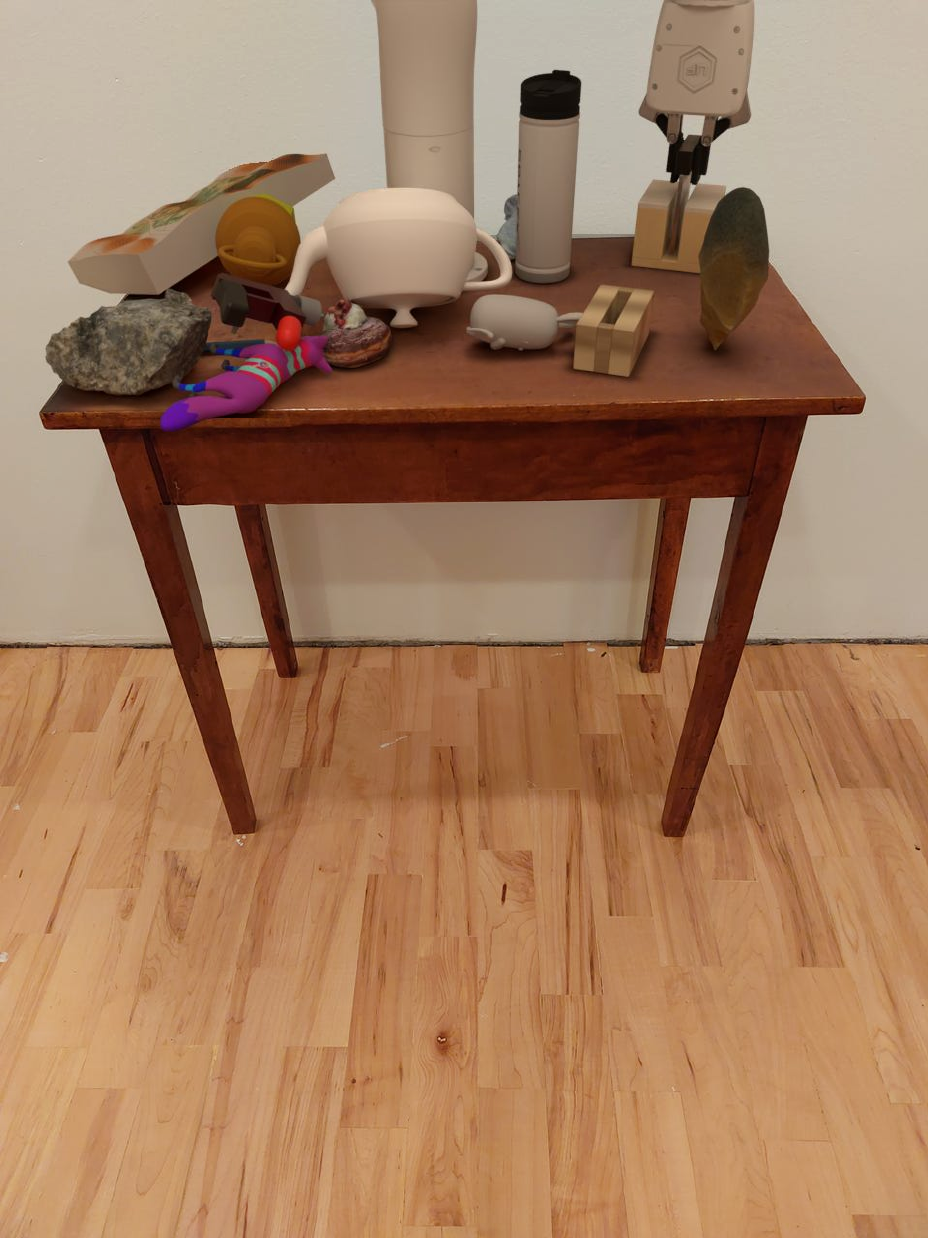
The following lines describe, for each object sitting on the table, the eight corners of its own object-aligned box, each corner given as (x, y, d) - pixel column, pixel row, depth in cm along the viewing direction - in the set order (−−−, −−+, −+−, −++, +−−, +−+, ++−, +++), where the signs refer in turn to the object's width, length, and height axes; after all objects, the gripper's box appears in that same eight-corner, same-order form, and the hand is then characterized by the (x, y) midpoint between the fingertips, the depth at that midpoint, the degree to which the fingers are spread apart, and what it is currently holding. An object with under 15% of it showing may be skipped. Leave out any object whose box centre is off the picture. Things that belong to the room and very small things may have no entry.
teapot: (534, 180, 86) (537, 317, 89) (488, 217, 101) (492, 333, 103) (263, 173, 80) (275, 320, 83) (256, 213, 95) (266, 337, 97)
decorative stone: (674, 330, 94) (697, 173, 84) (732, 328, 94) (762, 171, 84) (699, 374, 87) (728, 207, 77) (762, 371, 87) (799, 205, 77)
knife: (678, 254, 105) (692, 151, 98) (664, 253, 106) (677, 150, 99) (688, 234, 110) (702, 135, 103) (674, 233, 111) (688, 133, 104)
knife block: (628, 377, 86) (634, 331, 83) (572, 369, 88) (576, 323, 85) (648, 334, 93) (654, 290, 90) (596, 327, 95) (600, 283, 92)
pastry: (322, 334, 94) (317, 285, 90) (396, 334, 94) (393, 285, 90) (310, 370, 88) (303, 319, 84) (388, 370, 88) (385, 319, 84)
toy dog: (248, 346, 91) (343, 360, 89) (150, 444, 79) (257, 463, 77) (241, 310, 89) (339, 323, 86) (138, 406, 76) (248, 425, 74)
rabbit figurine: (469, 329, 86) (593, 347, 87) (473, 278, 87) (597, 297, 88) (460, 357, 92) (577, 374, 93) (465, 309, 93) (580, 326, 94)
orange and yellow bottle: (226, 248, 114) (202, 303, 94) (231, 169, 109) (207, 208, 89) (299, 262, 116) (292, 318, 95) (308, 185, 111) (301, 227, 91)
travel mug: (578, 267, 107) (591, 71, 94) (558, 287, 103) (569, 84, 90) (528, 259, 109) (535, 67, 96) (506, 279, 105) (510, 79, 92)
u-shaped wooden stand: (631, 265, 108) (638, 201, 103) (645, 240, 114) (653, 178, 109) (705, 274, 105) (715, 209, 101) (716, 247, 112) (726, 185, 107)
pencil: (130, 354, 91) (283, 345, 92) (128, 358, 90) (282, 349, 91) (127, 346, 90) (281, 336, 91) (126, 350, 89) (281, 340, 91)
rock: (28, 269, 78) (78, 281, 88) (30, 387, 81) (78, 387, 91) (191, 286, 78) (224, 297, 88) (188, 404, 81) (220, 402, 91)
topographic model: (158, 294, 98) (135, 248, 95) (85, 292, 106) (61, 250, 103) (335, 178, 113) (320, 135, 110) (258, 185, 121) (242, 145, 118)
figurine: (570, 210, 115) (561, 164, 110) (560, 281, 110) (550, 237, 105) (510, 218, 118) (498, 173, 112) (498, 287, 113) (484, 244, 107)
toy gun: (322, 295, 89) (304, 339, 92) (206, 262, 81) (189, 311, 84) (362, 348, 84) (341, 393, 86) (241, 318, 76) (222, 368, 78)
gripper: (625, -14, 91) (609, 184, 103) (790, -9, 87) (752, 196, 99) (640, -24, 96) (623, 165, 108) (796, -20, 92) (760, 176, 104)
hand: (685, 179), depth 103 cm, fingers closed on knife, 1 cm apart
